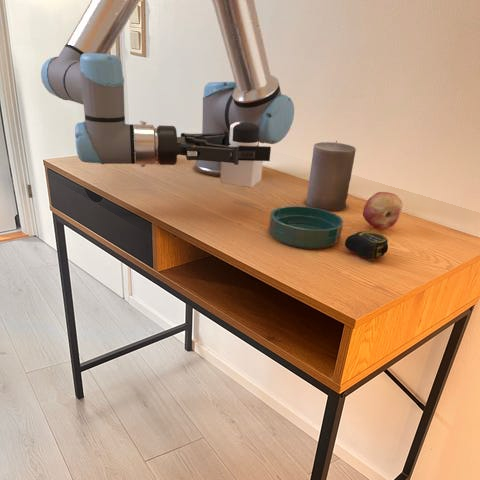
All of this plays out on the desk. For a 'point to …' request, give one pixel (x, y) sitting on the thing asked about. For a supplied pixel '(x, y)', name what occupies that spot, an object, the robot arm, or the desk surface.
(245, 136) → the medicine bottle
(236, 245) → the desk surface
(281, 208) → the bowl
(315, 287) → the desk surface
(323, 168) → the pillar candle
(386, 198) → the fruit
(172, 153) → the robot arm
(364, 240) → the tape measure
